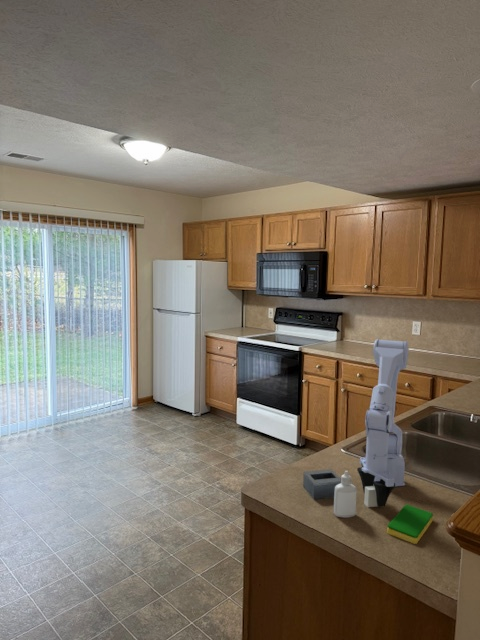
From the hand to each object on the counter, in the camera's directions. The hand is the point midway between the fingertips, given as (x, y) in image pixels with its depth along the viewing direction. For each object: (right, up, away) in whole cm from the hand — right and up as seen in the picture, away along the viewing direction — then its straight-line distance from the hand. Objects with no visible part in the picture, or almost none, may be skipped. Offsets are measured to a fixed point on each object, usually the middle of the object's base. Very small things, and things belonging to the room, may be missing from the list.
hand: (374, 499), depth 122 cm
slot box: (-13, 0, +7) cm, 15 cm away
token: (0, -2, 0) cm, 2 cm away
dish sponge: (+6, -3, -10) cm, 12 cm away
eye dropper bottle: (-10, -2, -5) cm, 11 cm away
